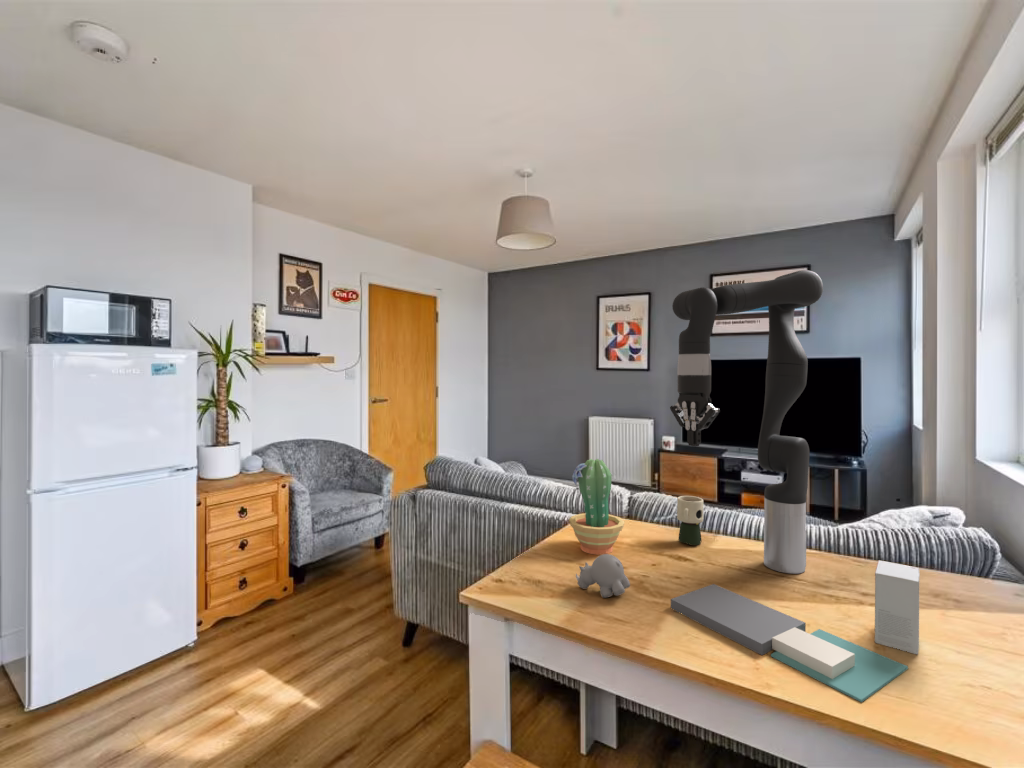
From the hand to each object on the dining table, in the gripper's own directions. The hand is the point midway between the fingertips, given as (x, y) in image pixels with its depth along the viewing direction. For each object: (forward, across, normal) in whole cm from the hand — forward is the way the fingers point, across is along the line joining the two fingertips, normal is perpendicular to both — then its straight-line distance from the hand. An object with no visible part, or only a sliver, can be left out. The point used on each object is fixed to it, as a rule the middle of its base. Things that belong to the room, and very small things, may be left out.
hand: (693, 445), depth 118 cm
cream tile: (+30, -33, +11) cm, 46 cm away
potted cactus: (+32, +27, +7) cm, 42 cm away
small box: (+32, -38, -9) cm, 50 cm away
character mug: (+32, +16, -19) cm, 41 cm away
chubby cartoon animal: (+32, +6, +24) cm, 41 cm away
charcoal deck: (+32, -18, +10) cm, 38 cm away
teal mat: (+32, -36, +8) cm, 49 cm away
